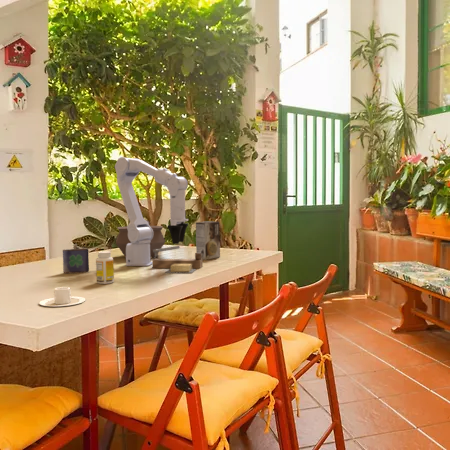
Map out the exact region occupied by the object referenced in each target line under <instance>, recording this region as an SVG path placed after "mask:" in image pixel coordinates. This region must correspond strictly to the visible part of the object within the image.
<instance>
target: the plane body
mask: <svg viewBox="0 0 450 450" xmlns="http://www.w3.org/2000/svg"><path fill="white" fill-rule="evenodd" d="M194 257H195V258H157V259H155V258H154V259H152V261H151V262H152V264H151V265H152V269H171V265H173V264H192V269H202V268H203V267H204V266H203V264H204V263H203V259H201V253H196V252H195V254H194Z"/></svg>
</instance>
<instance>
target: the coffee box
mask: <svg viewBox="0 0 450 450" xmlns="http://www.w3.org/2000/svg"><path fill="white" fill-rule="evenodd" d="M220 235H221V234H220V221H215V220H214V221H213V220H210V221H198V222H195V241H196V245H195V246H196V248H195V249H196V252H195V253H201V259H202V260H211V259H217V258H221V243H220V241H221V240H220V239H221V237H220Z"/></svg>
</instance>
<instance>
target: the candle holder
mask: <svg viewBox="0 0 450 450" xmlns="http://www.w3.org/2000/svg"><path fill="white" fill-rule="evenodd" d="M71 292H72V291H71V287H69V286H61V287H60V286H58V287H55V288H54V290H53V293H54V294H53V295H54V297H51V298H46V299H41V301H39V303H38V305H41V306H44V307H52V308H53V307H54V308H55V307H68V306H74V305H78V304H81V303H84V302H85V301H86V298H85V297H81V296H71ZM52 300H53V301H54V304H47V303H48V301H49V302H52ZM72 300H77V302H74V303H73V302H72ZM71 302H72V303H71Z"/></svg>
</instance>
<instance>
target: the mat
mask: <svg viewBox="0 0 450 450" xmlns="http://www.w3.org/2000/svg"><path fill="white" fill-rule="evenodd" d="M195 271H197V268H192V270H191V271H190V272H171V268H168V270H166V271H165V272H164V273H165V274H193V273H195Z"/></svg>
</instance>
